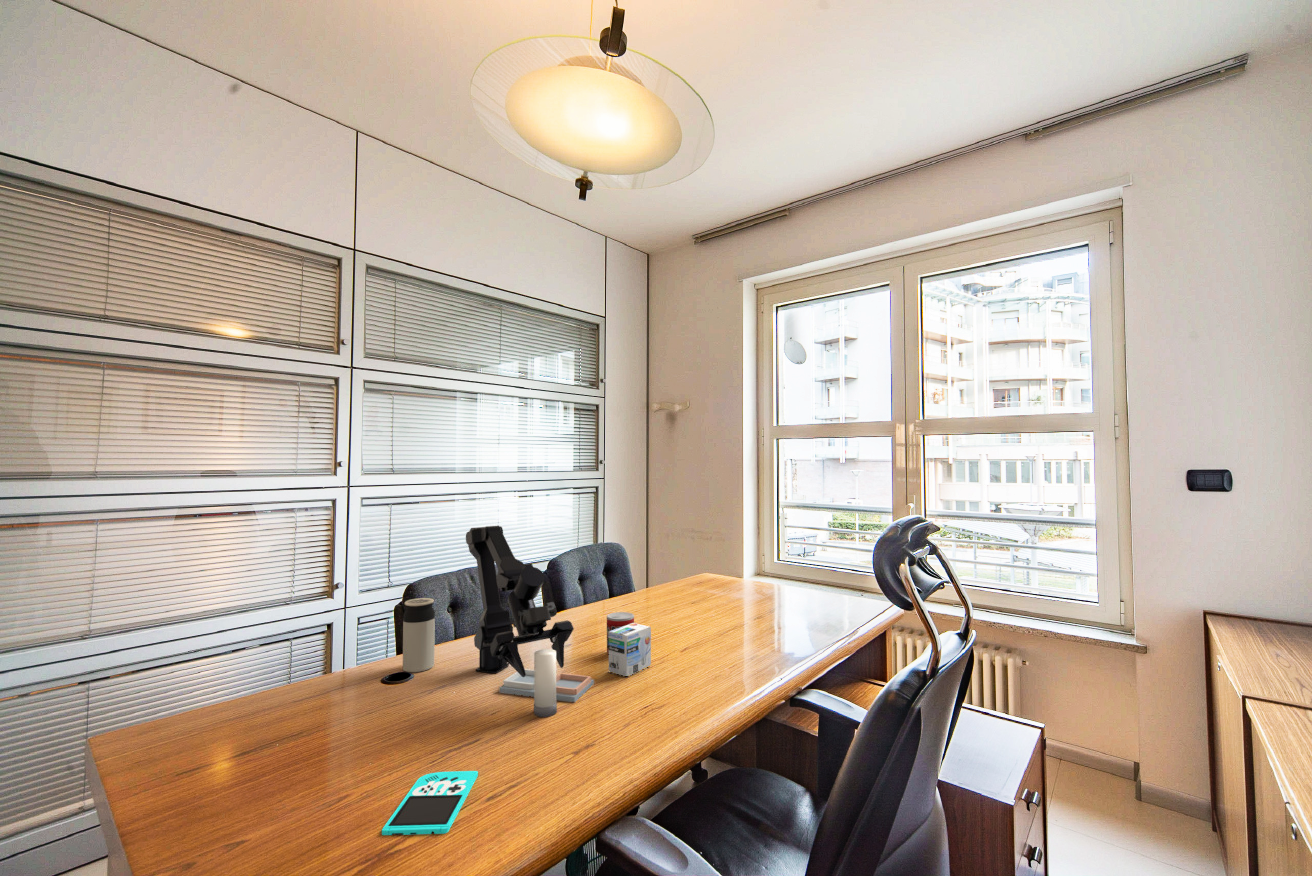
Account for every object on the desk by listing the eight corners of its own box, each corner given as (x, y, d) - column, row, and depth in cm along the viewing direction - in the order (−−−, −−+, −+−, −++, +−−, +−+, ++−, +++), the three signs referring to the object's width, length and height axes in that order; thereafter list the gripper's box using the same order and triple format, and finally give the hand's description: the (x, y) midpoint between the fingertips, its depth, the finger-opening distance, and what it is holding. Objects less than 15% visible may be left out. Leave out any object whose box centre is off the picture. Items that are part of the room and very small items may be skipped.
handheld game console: (479, 777, 99) (479, 769, 99) (448, 837, 83) (448, 827, 83) (422, 778, 98) (422, 770, 98) (380, 839, 82) (380, 829, 82)
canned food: (603, 651, 164) (603, 613, 164) (628, 647, 167) (628, 610, 168) (612, 659, 157) (612, 620, 157) (638, 655, 160) (638, 616, 161)
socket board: (499, 692, 134) (499, 682, 135) (523, 676, 145) (523, 666, 145) (574, 702, 128) (574, 691, 128) (594, 684, 139) (594, 674, 139)
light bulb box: (626, 678, 143) (626, 635, 144) (607, 672, 147) (607, 631, 148) (652, 666, 151) (651, 626, 152) (633, 661, 156) (632, 622, 156)
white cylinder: (529, 715, 122) (529, 655, 122) (540, 706, 127) (540, 648, 127) (549, 718, 120) (549, 657, 121) (560, 708, 125) (560, 650, 126)
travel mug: (426, 673, 148) (427, 604, 149) (397, 673, 148) (398, 604, 149) (439, 662, 156) (439, 597, 157) (410, 662, 156) (411, 597, 157)
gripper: (494, 597, 124) (513, 661, 115) (569, 586, 135) (592, 643, 126) (482, 625, 130) (499, 688, 121) (555, 612, 141) (576, 669, 132)
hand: (543, 671), depth 125 cm, fingers open, 9 cm apart
